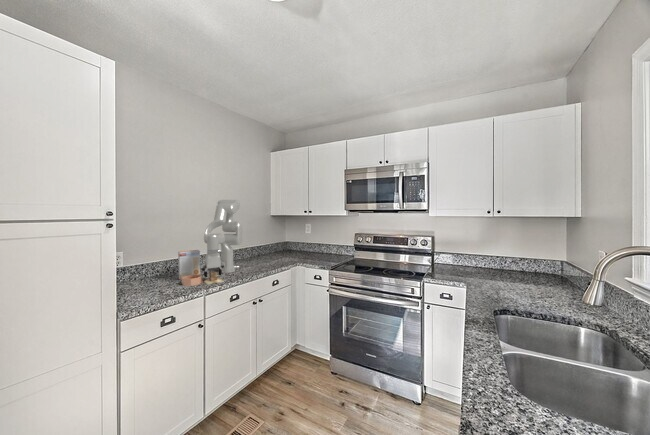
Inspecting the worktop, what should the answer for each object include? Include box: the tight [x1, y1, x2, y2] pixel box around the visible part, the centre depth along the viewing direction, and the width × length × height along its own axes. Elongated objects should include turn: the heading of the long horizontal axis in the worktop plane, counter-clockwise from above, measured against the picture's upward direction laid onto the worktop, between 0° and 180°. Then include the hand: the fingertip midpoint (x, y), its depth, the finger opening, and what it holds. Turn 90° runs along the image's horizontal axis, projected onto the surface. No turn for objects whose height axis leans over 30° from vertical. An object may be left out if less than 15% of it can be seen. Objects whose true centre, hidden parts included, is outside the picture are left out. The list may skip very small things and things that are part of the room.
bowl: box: [181, 274, 203, 287], centre depth 186 cm, size 12×12×5 cm
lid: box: [203, 271, 223, 285], centre depth 190 cm, size 12×12×6 cm
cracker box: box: [177, 249, 201, 281], centre depth 201 cm, size 14×6×21 cm, turn 129°
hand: (213, 276), depth 189 cm, fingers open, 9 cm apart
